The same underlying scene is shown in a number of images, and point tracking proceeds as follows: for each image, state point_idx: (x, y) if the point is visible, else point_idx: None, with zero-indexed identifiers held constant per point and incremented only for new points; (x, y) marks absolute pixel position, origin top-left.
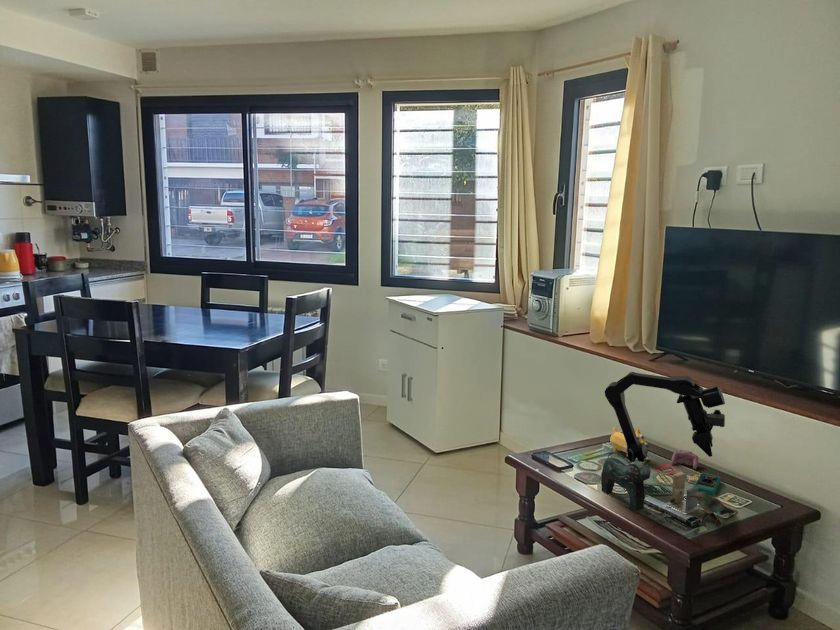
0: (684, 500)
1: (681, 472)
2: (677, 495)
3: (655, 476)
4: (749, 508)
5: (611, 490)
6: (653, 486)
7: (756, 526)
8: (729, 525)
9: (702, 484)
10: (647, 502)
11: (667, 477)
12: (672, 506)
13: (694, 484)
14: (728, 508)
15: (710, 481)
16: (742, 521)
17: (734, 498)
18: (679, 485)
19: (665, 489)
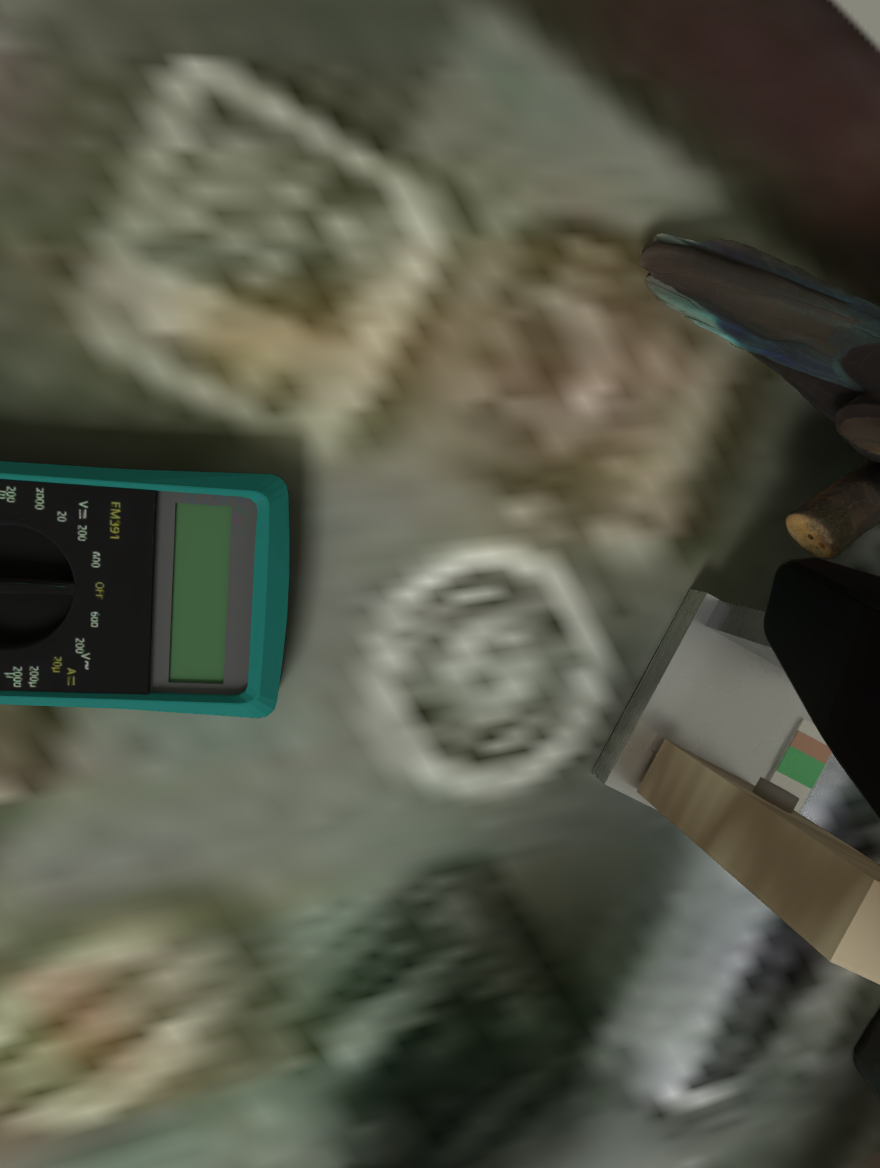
0: (639, 732)
1: (850, 945)
2: (803, 816)
3: (79, 1131)
4: (411, 90)
5: None
6: (368, 1069)
7: (792, 37)
8: (876, 286)
9: (151, 627)
10: (748, 1009)
11: (28, 1017)
12: (801, 803)
13: (203, 712)
14: (792, 283)
15: None
16: (747, 169)
17: (221, 254)
18: (862, 858)
19: (379, 951)
